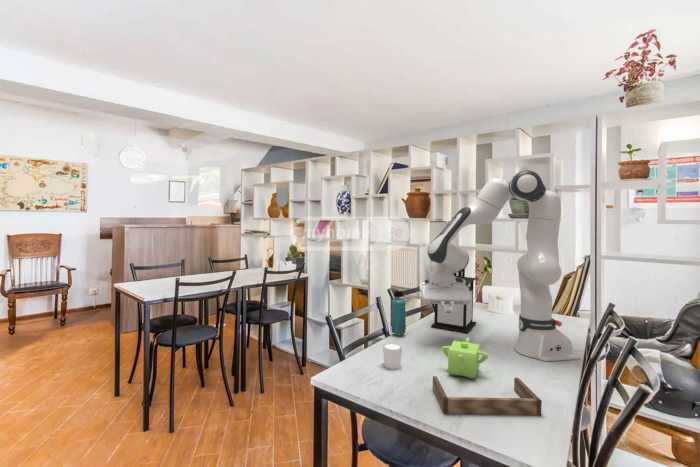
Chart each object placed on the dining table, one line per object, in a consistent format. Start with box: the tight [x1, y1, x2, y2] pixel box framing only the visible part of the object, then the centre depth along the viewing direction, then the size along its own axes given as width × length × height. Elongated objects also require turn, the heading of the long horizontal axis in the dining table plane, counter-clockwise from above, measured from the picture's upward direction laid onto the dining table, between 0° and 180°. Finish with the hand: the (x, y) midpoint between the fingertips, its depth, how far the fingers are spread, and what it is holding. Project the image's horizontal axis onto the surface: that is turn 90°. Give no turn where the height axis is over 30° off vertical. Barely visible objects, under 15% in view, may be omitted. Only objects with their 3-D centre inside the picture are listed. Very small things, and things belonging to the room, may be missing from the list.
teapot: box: [440, 337, 489, 380], centre depth 124 cm, size 15×13×11 cm
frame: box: [432, 375, 543, 416], centre depth 105 cm, size 26×14×4 cm, turn 89°
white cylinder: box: [382, 343, 403, 370], centre depth 129 cm, size 7×7×7 cm
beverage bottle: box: [390, 290, 407, 335], centre depth 162 cm, size 6×7×20 cm
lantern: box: [430, 266, 478, 335], centre depth 176 cm, size 17×17×35 cm
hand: (448, 312), depth 144 cm, fingers closed
